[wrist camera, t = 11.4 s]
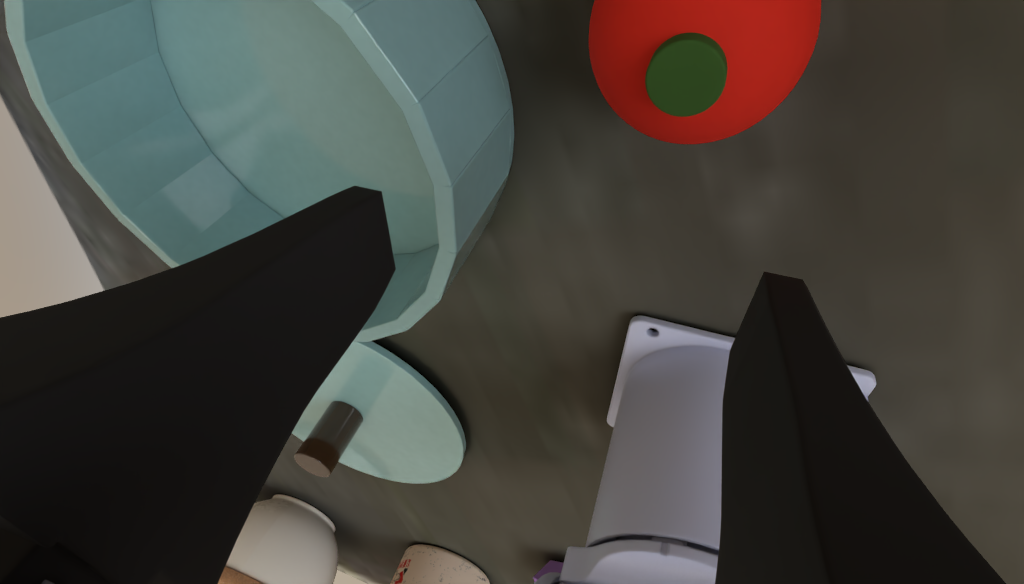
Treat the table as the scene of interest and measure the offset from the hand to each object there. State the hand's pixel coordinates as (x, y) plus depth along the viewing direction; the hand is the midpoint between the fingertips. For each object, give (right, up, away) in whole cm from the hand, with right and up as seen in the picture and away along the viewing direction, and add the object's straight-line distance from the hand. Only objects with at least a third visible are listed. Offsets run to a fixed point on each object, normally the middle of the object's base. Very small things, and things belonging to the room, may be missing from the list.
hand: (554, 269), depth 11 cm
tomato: (+4, +6, +3) cm, 7 cm away
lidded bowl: (-22, -23, +46) cm, 56 cm away
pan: (-8, +7, +11) cm, 15 cm away
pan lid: (-11, -8, +26) cm, 29 cm away
